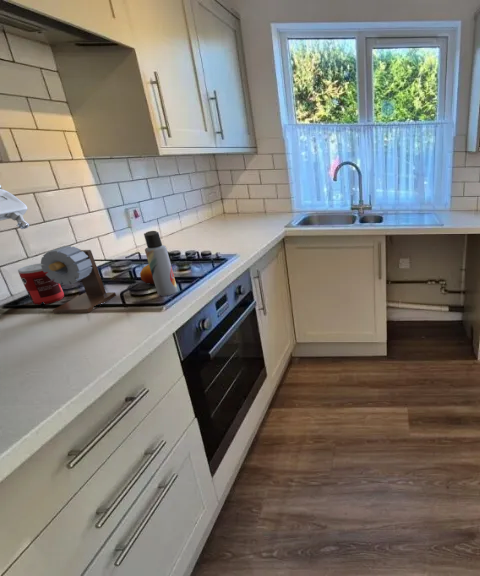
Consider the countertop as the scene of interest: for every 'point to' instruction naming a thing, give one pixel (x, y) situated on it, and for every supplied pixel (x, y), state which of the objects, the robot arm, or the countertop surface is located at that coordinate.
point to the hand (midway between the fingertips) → (10, 230)
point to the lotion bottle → (160, 264)
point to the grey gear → (67, 265)
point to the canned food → (40, 285)
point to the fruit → (147, 275)
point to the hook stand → (92, 287)
